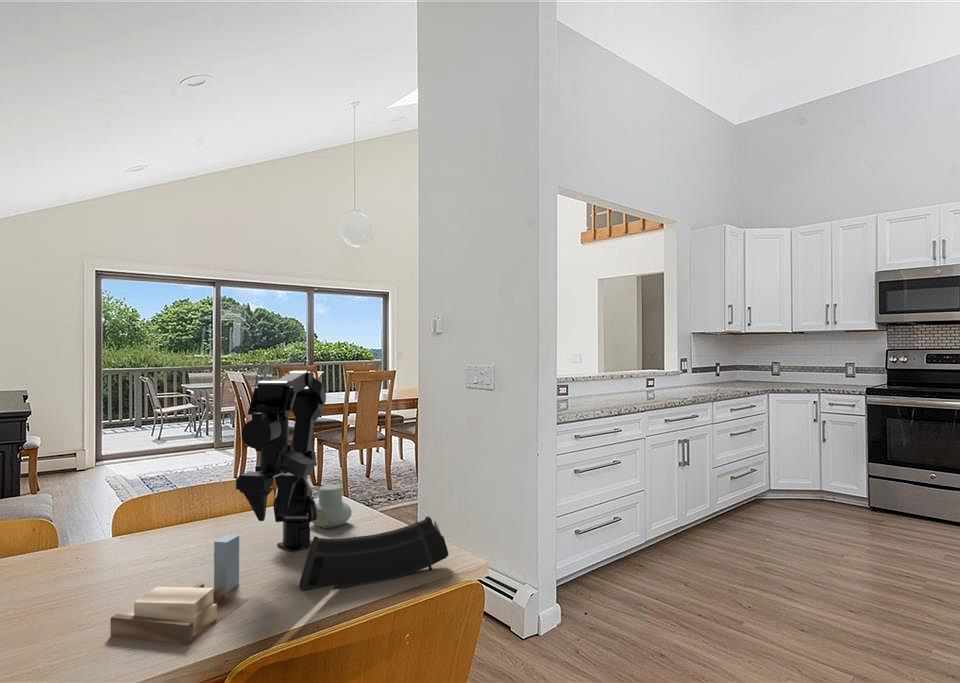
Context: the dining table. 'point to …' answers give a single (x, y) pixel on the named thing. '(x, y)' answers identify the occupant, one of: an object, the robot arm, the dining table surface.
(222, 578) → the tall board
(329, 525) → the air freshener
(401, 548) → the magazine
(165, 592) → the offcut stack
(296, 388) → the robot arm
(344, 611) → the dining table surface
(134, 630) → the walnut rack
